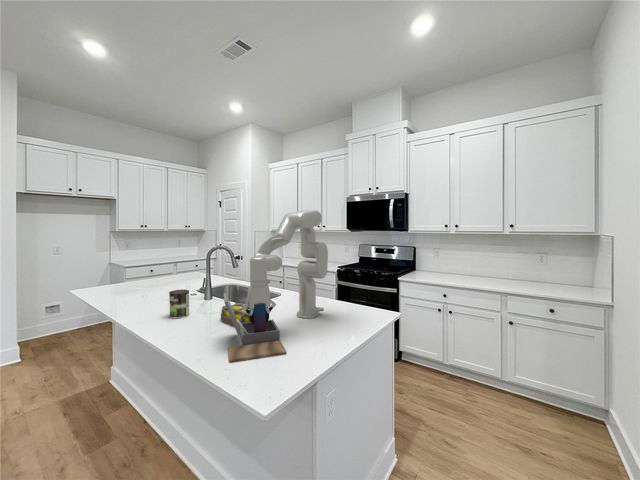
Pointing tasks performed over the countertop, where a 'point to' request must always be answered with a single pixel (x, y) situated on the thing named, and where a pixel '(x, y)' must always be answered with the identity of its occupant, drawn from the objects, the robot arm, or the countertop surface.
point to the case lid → (232, 314)
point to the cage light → (239, 314)
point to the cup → (259, 318)
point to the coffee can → (179, 303)
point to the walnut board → (255, 351)
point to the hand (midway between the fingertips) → (259, 321)
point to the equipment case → (260, 337)
